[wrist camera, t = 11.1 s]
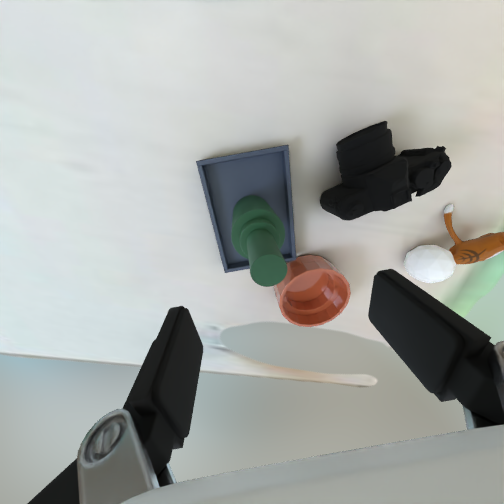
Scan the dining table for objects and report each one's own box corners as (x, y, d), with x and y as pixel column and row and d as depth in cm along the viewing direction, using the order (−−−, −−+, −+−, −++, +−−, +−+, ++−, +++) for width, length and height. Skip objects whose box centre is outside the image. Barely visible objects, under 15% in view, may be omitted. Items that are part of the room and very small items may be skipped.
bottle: (229, 198, 29) (220, 241, 13) (268, 192, 29) (307, 226, 13) (236, 235, 31) (237, 308, 15) (272, 229, 31) (309, 296, 15)
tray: (199, 161, 27) (195, 161, 25) (284, 146, 27) (288, 144, 25) (225, 266, 34) (224, 272, 32) (292, 254, 34) (296, 260, 32)
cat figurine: (436, 297, 28) (615, 247, 22) (399, 226, 29) (560, 162, 24) (400, 282, 40) (510, 247, 34) (375, 232, 41) (477, 191, 36)
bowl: (269, 260, 34) (275, 276, 29) (336, 248, 34) (353, 262, 29) (276, 310, 39) (282, 331, 34) (334, 300, 39) (348, 320, 34)
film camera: (404, 106, 26) (480, 80, 18) (410, 175, 30) (475, 179, 22) (300, 159, 28) (327, 158, 20) (319, 218, 32) (348, 236, 24)
